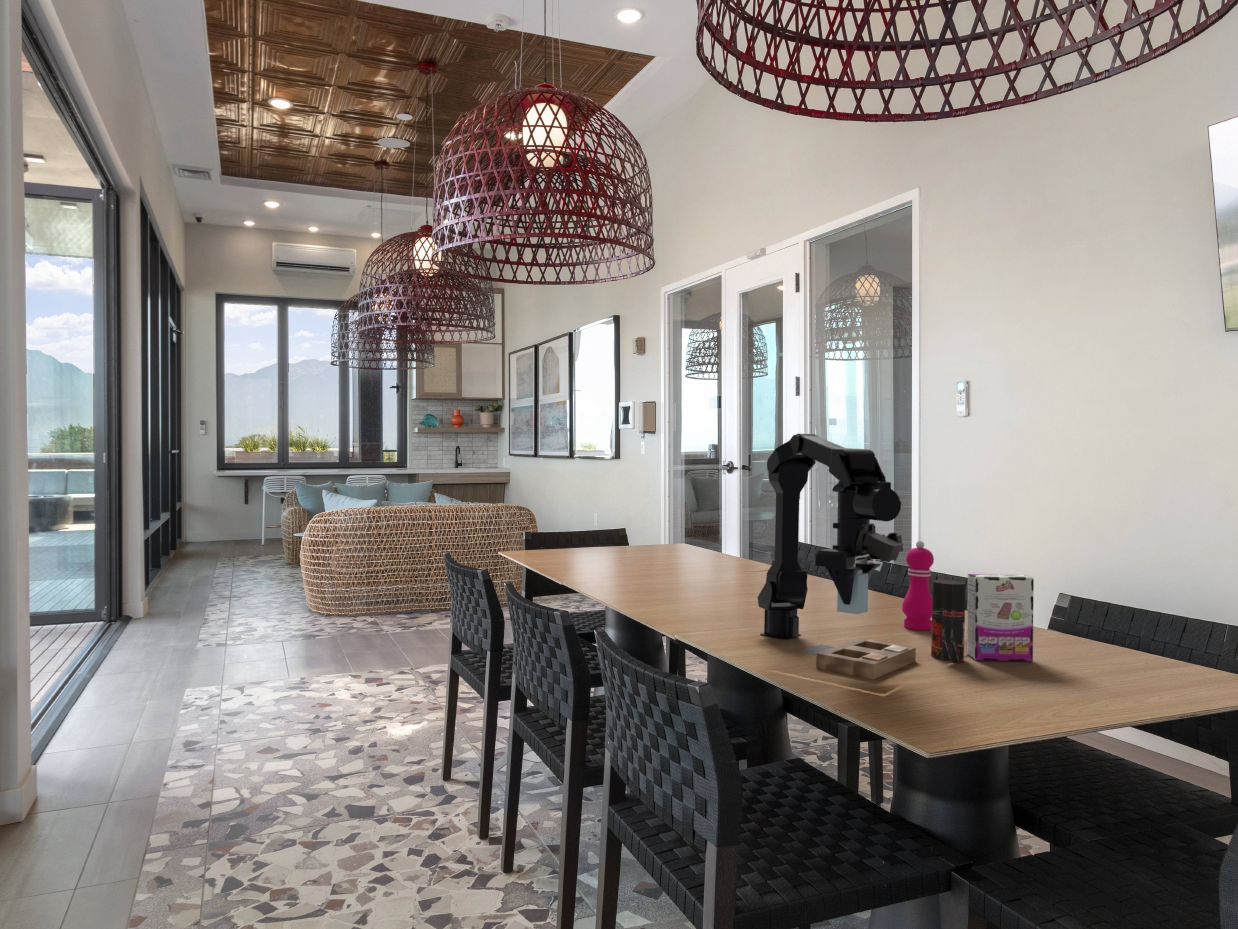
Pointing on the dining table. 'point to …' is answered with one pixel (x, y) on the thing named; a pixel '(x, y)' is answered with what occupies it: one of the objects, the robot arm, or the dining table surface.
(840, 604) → the plug
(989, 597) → the candy bar box
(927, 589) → the pepper mill
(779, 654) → the dining table surface
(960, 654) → the deodorant
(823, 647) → the pad
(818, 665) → the socket block
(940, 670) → the dining table surface
